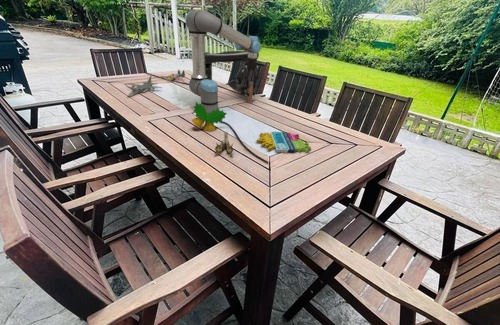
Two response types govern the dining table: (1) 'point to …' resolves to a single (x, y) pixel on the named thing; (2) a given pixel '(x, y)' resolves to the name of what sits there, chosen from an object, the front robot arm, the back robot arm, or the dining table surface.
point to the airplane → (143, 87)
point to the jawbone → (224, 145)
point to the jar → (250, 94)
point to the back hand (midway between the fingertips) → (251, 94)
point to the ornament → (207, 117)
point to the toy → (174, 76)
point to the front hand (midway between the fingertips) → (250, 87)
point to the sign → (283, 142)
